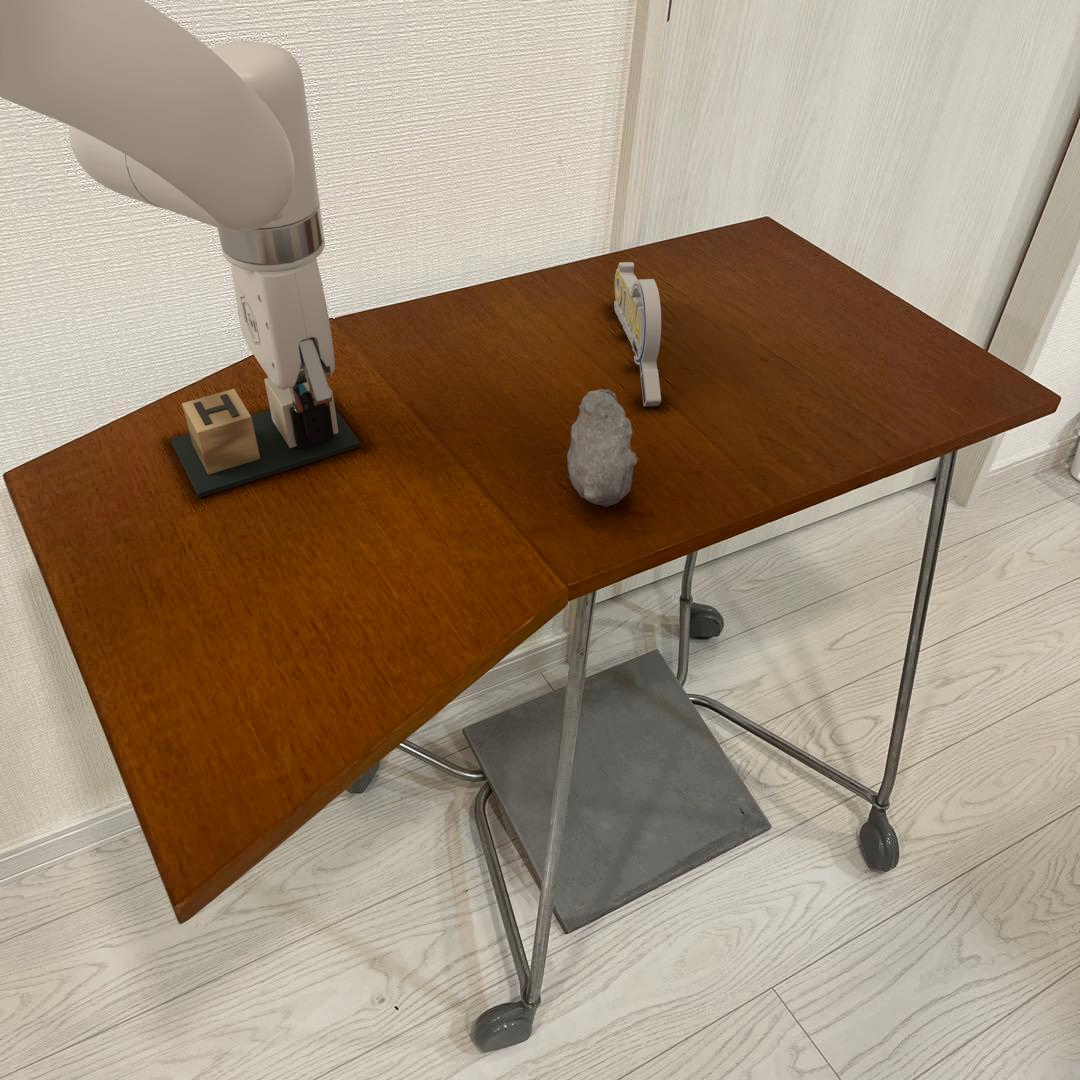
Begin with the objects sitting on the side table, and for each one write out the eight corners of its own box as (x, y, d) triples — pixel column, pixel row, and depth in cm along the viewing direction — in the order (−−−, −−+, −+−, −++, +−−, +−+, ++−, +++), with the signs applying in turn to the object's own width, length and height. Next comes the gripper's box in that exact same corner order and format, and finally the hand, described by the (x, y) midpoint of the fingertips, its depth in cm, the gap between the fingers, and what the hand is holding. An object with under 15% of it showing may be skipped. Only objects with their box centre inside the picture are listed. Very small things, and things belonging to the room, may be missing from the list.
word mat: (198, 498, 81) (197, 493, 81) (171, 443, 86) (170, 438, 86) (360, 447, 87) (360, 442, 86) (326, 398, 92) (325, 393, 91)
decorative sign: (612, 336, 106) (616, 241, 101) (624, 336, 106) (629, 241, 101) (645, 410, 91) (653, 304, 86) (660, 410, 92) (668, 303, 86)
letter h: (208, 475, 83) (196, 431, 80) (192, 445, 85) (181, 401, 82) (260, 459, 84) (251, 415, 81) (243, 430, 87) (234, 387, 84)
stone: (668, 515, 82) (684, 416, 75) (596, 543, 79) (606, 442, 72) (607, 450, 87) (616, 352, 80) (538, 474, 85) (542, 375, 78)
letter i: (289, 448, 85) (281, 405, 82) (272, 420, 88) (263, 377, 85) (338, 433, 87) (332, 390, 84) (320, 406, 90) (313, 363, 86)
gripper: (187, 193, 78) (231, 386, 91) (259, 294, 68) (297, 496, 81) (280, 174, 81) (310, 364, 94) (363, 268, 71) (384, 468, 84)
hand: (304, 423), depth 87 cm, fingers closed on letter i, 4 cm apart
